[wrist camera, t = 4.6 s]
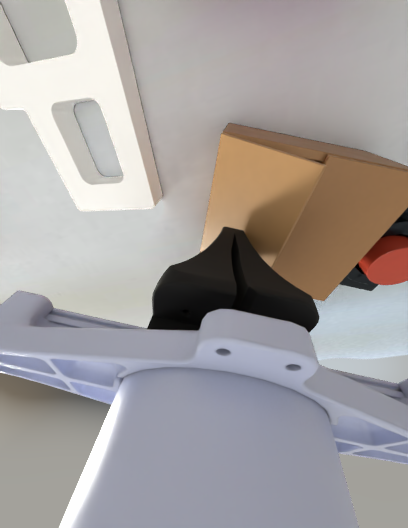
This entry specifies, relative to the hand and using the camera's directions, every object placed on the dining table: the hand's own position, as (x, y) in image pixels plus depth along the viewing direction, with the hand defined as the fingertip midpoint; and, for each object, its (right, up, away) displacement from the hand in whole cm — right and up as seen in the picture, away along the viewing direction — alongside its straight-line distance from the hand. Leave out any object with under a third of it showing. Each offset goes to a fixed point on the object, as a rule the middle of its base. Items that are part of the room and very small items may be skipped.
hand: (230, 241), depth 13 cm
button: (+16, -1, +6) cm, 17 cm away
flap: (+1, 0, 0) cm, 1 cm away
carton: (+5, +5, +7) cm, 11 cm away
